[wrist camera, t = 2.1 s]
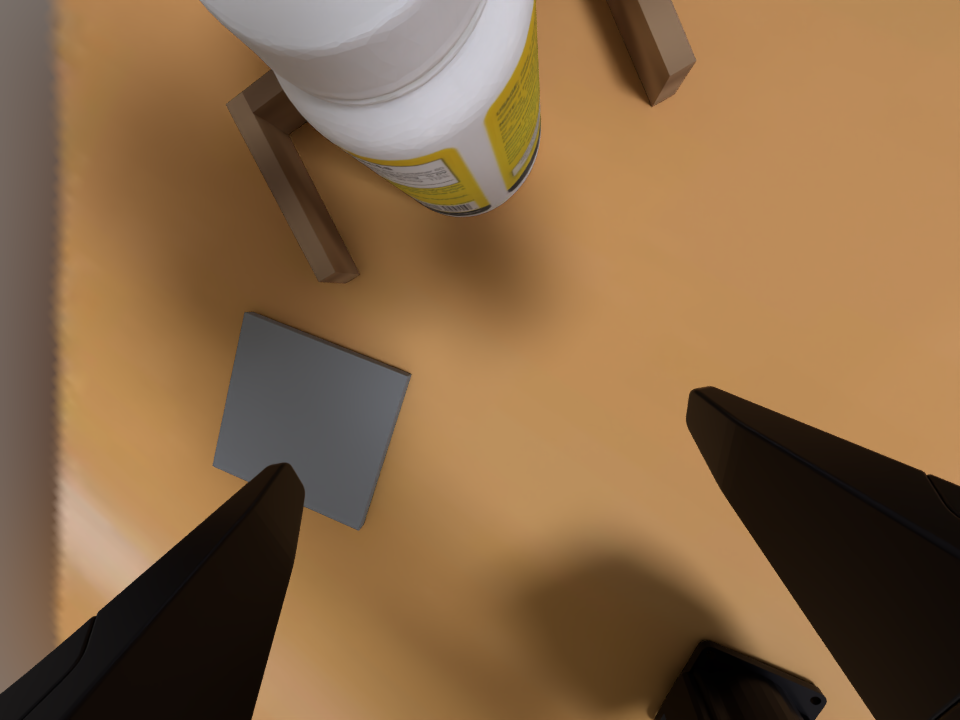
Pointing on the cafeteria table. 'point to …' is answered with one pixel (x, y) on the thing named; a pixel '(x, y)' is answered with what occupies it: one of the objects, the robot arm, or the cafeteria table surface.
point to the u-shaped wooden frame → (273, 116)
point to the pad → (310, 415)
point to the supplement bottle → (410, 87)
